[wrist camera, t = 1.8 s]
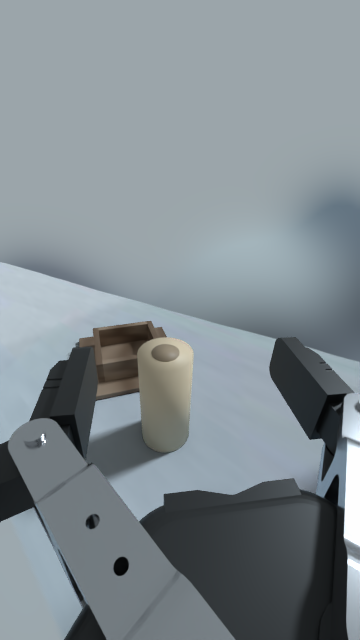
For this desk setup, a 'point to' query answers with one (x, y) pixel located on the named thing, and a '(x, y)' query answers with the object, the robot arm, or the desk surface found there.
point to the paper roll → (165, 392)
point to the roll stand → (119, 356)
